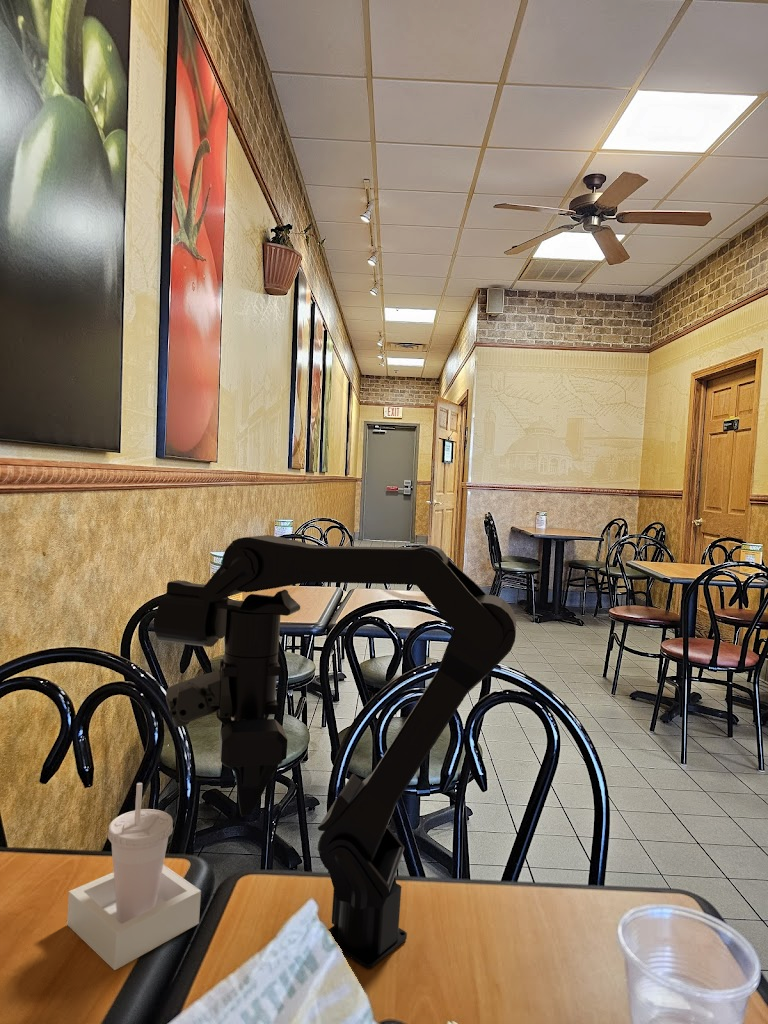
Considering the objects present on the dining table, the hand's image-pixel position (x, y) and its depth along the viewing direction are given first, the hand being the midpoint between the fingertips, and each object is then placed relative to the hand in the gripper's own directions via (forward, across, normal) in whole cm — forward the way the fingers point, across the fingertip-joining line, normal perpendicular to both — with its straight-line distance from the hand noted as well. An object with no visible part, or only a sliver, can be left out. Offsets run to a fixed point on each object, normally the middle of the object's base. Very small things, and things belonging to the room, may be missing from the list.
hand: (242, 794), depth 70 cm
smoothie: (+12, 0, -10) cm, 16 cm away
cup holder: (+13, 0, -10) cm, 17 cm away
